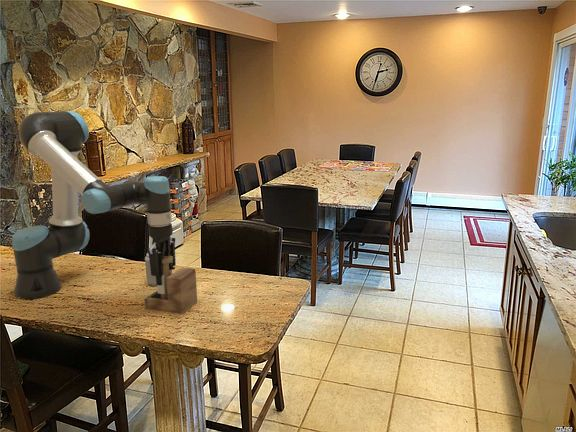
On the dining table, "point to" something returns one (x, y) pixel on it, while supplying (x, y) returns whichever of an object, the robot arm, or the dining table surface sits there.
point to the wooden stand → (176, 293)
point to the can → (149, 272)
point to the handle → (166, 273)
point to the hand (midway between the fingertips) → (165, 290)
